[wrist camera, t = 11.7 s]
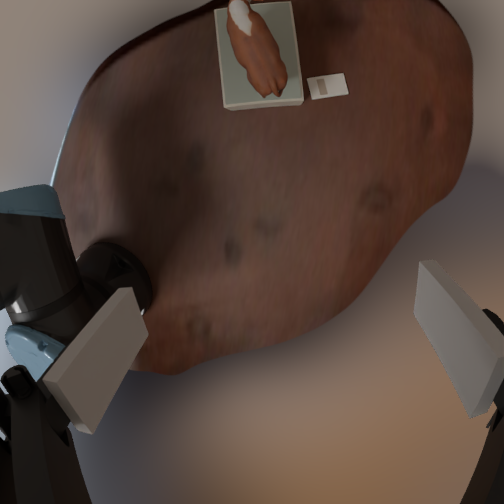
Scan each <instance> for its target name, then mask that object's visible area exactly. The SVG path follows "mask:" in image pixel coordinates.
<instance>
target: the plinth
mask: <svg viewBox="0 0 504 504" xmlns="http://www.w3.org/2000/svg"><path fill="white" fill-rule="evenodd" d="M250 7H251V8H252V10H254V11H255V12H257V13H259V14H260V15H261V17H262V18H263V19H264V21H265V22H266V24H267V26H268V28H269V30H270V32H271V34H272V36H273V37H274V39H275V41H276V42H277V44H278V46H279V50H280V57H281V60H282V61H283V62H284V64H285V66H286V71H287V74H288V81H287V85H286V87H285V89H284V90H283V92H282V95H281V96H280V97H276V96H275V95H274V94H273V93H271V94H270V95H268V96H266V97H265V98H263V97H261V96H260V95H259V94H258V93H257V91H256V90H255V89H254V88H253V86H252V85H251V84H250V83H249V81H248V79H247V71H246V69H245V68H243V67H242V66H241V65H240V64H239V62H238V61H237V59H236V57H235V55H234V51H233V48H232V46H231V42H230V37H229V35H228V32H227V28H226V24H227V17H228V15H227V8H221V9H215V10H214V14H215V25H216V35H217V45H218V55H219V65H220V75H221V85H222V94H223V104H224V108H226V109H229V110H232V111H235V110H244V109H253V108H264V107H277V106H292V105H301V104H302V103H303V101H304V97H303V87H302V78H301V69H300V61H299V53H298V45H297V38H296V31H295V24H294V17H293V10H292V4H291V1H288V2H271V3H260V4H250ZM278 92H279V91H278Z"/></svg>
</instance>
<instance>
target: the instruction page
mask: <svg viewBox="0 0 504 504" xmlns="http://www.w3.org/2000/svg"><path fill="white" fill-rule="evenodd" d="M307 82H308V86H309V90H310V93H311V97H312V100H313V99H319V98H326V97H332V96H339V95H347V94H349V93H348V89H347V85H346V81H345V77H344V74H343V73H341V74H333V75H326V76H319V77H313V78H307Z"/></svg>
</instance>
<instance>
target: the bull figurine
mask: <svg viewBox="0 0 504 504" xmlns="http://www.w3.org/2000/svg"><path fill="white" fill-rule="evenodd" d="M250 1H251V0H230V2H229V4H228V8H227V15H228V17H227V24H226V28H227V32H228V35H229V37H230V42H231V46H232V48H233V51H234V55H235V57H236V59H237V61H238V62H239V64H240V65H241V66H242V67H243V68H245V69H246V71H247V79H248V81H249V83H250V84H251V85H252V86H253V88H254V89H255V90H256V91H257V93H258V94H259V95H260V96H261V97H263V98H265V97H266V96H268V95H270V94H271V93H273V94H274V95H275V96H276V97H280V96H281V95H282V92H283V90H284V89H285V87H286V85H287V81H288V74H287V71H286V66H285V64H284V62H283V61H282V60H281V57H280V50H279V46H278V44H277V42H276V41H275V39H274V37H273V36H272V34H271V32H270V30H269V28H268V26H267V24H266V22H265V21H264V19H263V18H262V17H261V15H260V14H259V13H257V12H255V11H254V10H252V8H251V7H250ZM253 1H264V0H253ZM278 91H279V92H278Z"/></svg>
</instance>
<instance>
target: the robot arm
mask: <svg viewBox="0 0 504 504" xmlns="http://www.w3.org/2000/svg"><path fill="white" fill-rule="evenodd" d="M65 219H66V218H65V215H64V214H63V212H62V209H61V206H60V202H59V198H58V195H57V192H56V190H55V189H54V188H53V187H51V186H50V185H46V184H42V185H34V186H29V187H23V188H18V189H13V190H8V191H4V192H0V310H2V309H4V308H6V310H7V312H8V314H9V317H10V319H11V321H12V325H11V326H9V327H8V329H7V332H6V334H5V339H6V345H7V348H8V350H9V352H10V354H11V355H12V356H13V358H14V359H15V361H16V362H17V363H18V364H19V365H16V366H13V367H12V368H10V369H8V370H7V371H6V372H5V373H4V374H3V375H2V377H1V380H0V381H1V383H2V384H3V386H4V387H5V389H6V390H7V392H8V393H9V394H5V393H4V392H3V391H2V389H1V388H0V430H1V431H2V432H3V433H4V435H5V436H6V438H5V440H3V439H2V438H1V437H0V504H92V502H91V499H90V497H89V494H88V491H87V488H86V485H85V481H84V478H83V475H82V472H81V469H80V465H79V461H78V458H77V454H76V450H75V447H74V442H73V439H72V434H71V432H70V430H69V428H68V427H67V426H68V424H69V423H70V421H71V422H72V423H73V425H74V426H75V427H76V429H77V430H78V431H81V432H85V433H89V434H93V433H94V431H95V430H96V428H97V426H98V424H99V422H100V420H101V418H102V416H103V415H104V412H105V411H106V409H107V407H108V405H109V403H110V401H111V400H112V398H113V396H114V394H115V392H116V391H117V389H118V387H119V385H120V383H121V382H122V380H123V378H124V376H125V374H126V373H127V371H128V369H129V367H130V366H131V364H132V362H133V360H134V359H135V357H136V355H137V353H138V352H139V350H140V348H141V346H142V345H143V343H144V341H145V340H146V338H147V336H148V332H147V329H146V326H145V324H144V321H143V318H142V317H143V315H144V314H145V312H146V311H147V309H148V308H149V306H150V303H151V299H152V287H151V282H150V279H149V276H148V274H147V272H146V270H145V268H144V267H143V265H142V264H141V263H140V261H139V260H138V259H137V258H136V257H135V256H134V255H133V254H132V253H130V252H129V251H128V250H126V249H124V248H123V247H121V246H118V245H116V244H112V243H98V244H94V245H92V246H91V247H89V248H88V249H86V250H85V251H84V252H82V253H81V254H80V255H79V257H78V258H77V260H76V259H75V256H74V253H73V249H72V246H71V242H70V238H69V235H68V231H67V227H66V223H65ZM413 314H414V316H415V317H416V319H417V321H418V322H419V324H420V326H421V327H422V329H423V331H424V332H425V334H426V336H427V338H428V339H429V341H430V343H431V345H432V346H433V348H434V350H435V352H436V353H437V355H438V357H439V359H440V361H441V363H442V364H443V366H444V368H445V370H446V372H447V374H448V376H449V378H450V379H451V381H452V383H453V385H454V387H455V389H456V391H457V393H458V395H459V397H460V399H461V401H462V403H463V405H464V407H465V410H466V412H467V414H468V416H469V418H473V417H476V416H478V415H481V414H484V413H486V412H487V411H488V409H489V408H490V406H491V404H492V402H493V401H494V403H495V404H496V406H497V409H496V411H495V413H494V414H493V416H492V418H491V420H490V421H489V423H488V424H487V426H486V428H489V426H490V425H491V426H490V429H489V432H488V436H487V438H486V441H485V445H484V447H483V450H482V453H481V456H480V458H479V461H478V464H477V466H476V469H475V471H474V474H473V476H472V478H471V481H470V483H469V486H468V487H467V490H466V492H465V494H464V496H463V498H462V501H461V503H460V504H504V323H503V321H502V320H501V319H500V318H499V317H498V316H497V315H496V314H495V313H493V312H491V311H490V310H488V309H483V310H481V309H480V308H479V306H478V305H477V304H476V303H475V302H474V301H473V300H472V299H471V297H470V296H469V295H468V294H467V293H466V292H465V291H464V290H463V289H462V288H461V287H460V286H459V284H458V283H457V282H455V280H454V279H453V278H452V277H451V276H450V275H449V274H448V273H447V272H446V271H445V270H444V269H443V268H442V267H441V266H440V265H439V264H438V263H437V262H436V261H435V260H426V261H420V262H419V272H418V281H417V290H416V299H415V306H414V313H413ZM33 378H34V379H35V380H37V382H35V380H34V379H33Z"/></svg>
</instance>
